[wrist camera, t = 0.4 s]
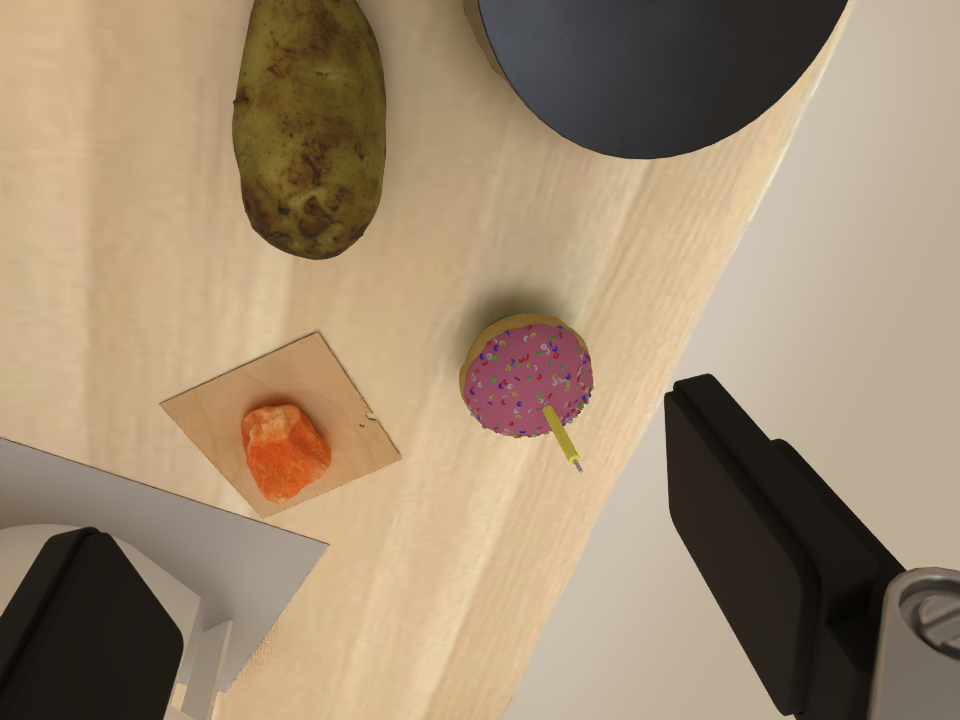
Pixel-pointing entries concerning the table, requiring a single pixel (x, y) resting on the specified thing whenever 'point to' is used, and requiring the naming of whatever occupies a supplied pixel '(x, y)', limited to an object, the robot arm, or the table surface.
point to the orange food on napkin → (284, 427)
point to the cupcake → (528, 378)
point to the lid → (653, 65)
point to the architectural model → (161, 559)
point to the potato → (310, 125)
